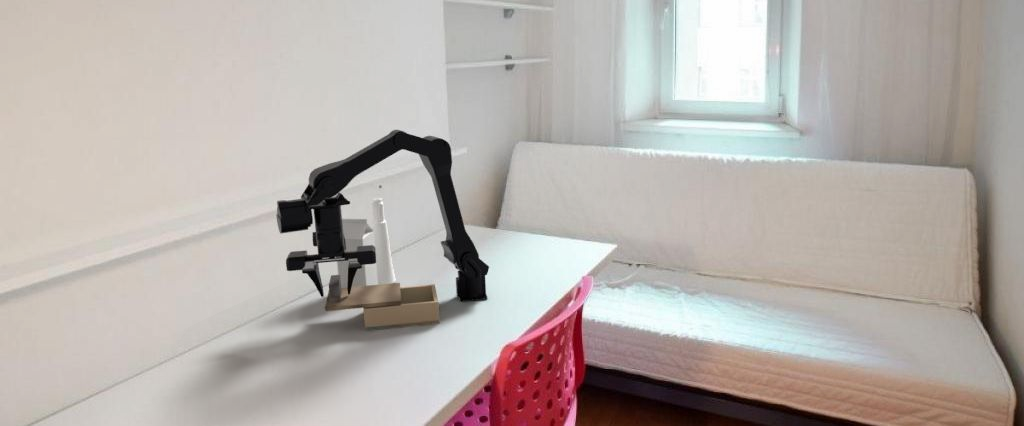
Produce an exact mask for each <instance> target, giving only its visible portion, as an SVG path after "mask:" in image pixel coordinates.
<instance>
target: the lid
mask: <svg viewBox="0 0 1024 426" xmlns="http://www.w3.org/2000/svg"><path fill="white" fill-rule="evenodd" d="M400 287H401V282H394V283H392V284H381V285H369V286H358V287H351V292H350V294H348V290H347V288H341V278H340V275H338V274H333V275H330V279H329V283H328V293H327V295H326V296H327V297H326V301H325V304H324V305H325V306H324V311H325V312H333V311H344V310H345V311H346V310H354V309H362V308H366V307H376V306H387V305H398V304H401V291H400Z"/></svg>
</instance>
